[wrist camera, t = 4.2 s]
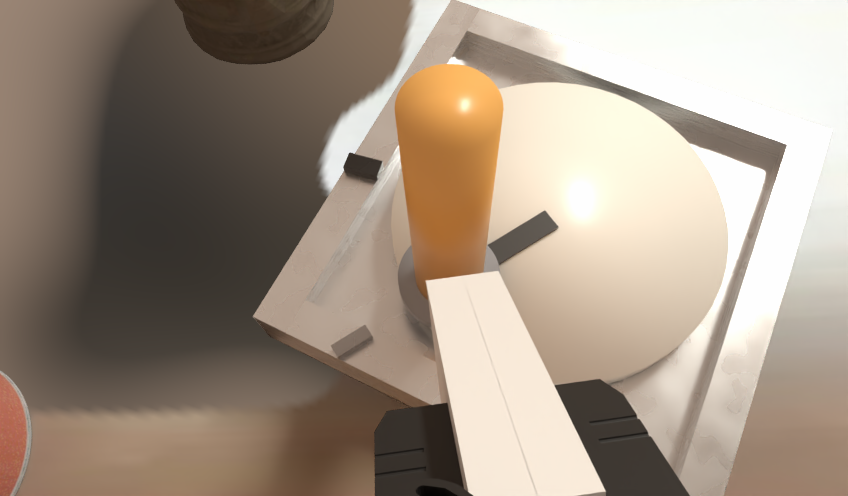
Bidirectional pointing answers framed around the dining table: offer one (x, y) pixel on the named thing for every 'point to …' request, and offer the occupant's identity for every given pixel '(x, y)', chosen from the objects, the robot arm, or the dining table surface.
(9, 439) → the canned food
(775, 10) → the dining table surface
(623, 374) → the dial
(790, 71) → the dining table surface
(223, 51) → the beer stein
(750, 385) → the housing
